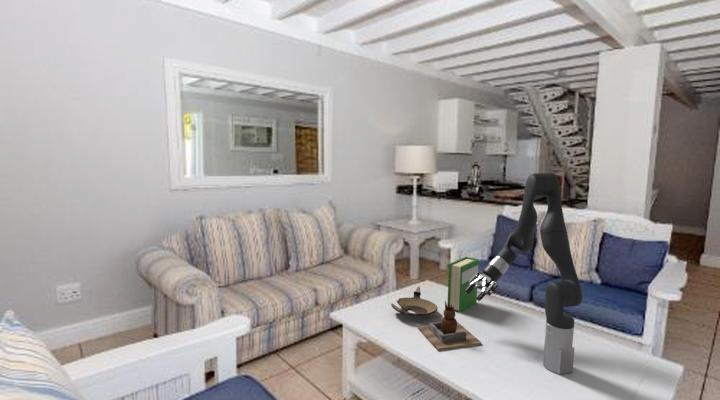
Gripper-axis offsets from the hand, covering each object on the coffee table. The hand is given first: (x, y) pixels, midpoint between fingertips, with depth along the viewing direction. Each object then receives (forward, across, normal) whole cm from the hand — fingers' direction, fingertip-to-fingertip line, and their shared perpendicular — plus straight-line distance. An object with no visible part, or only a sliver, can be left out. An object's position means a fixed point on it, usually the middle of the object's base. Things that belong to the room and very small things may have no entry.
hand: (471, 295), depth 169 cm
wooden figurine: (+19, 0, +4) cm, 20 cm away
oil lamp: (+22, -27, +3) cm, 35 cm away
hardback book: (+4, -28, +21) cm, 35 cm away
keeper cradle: (+20, 0, +5) cm, 20 cm away
